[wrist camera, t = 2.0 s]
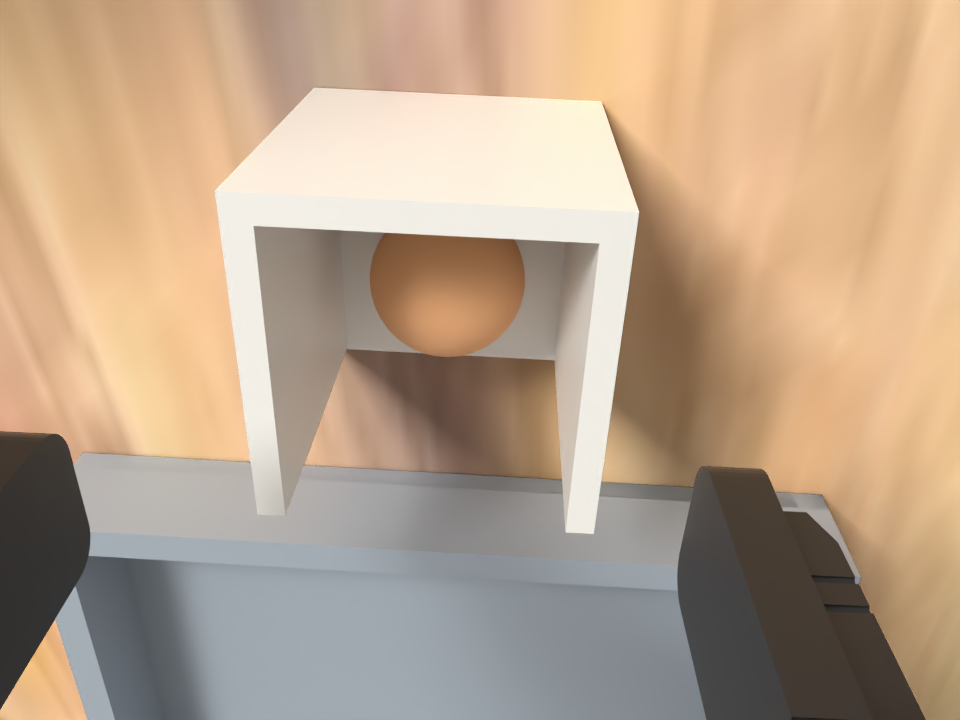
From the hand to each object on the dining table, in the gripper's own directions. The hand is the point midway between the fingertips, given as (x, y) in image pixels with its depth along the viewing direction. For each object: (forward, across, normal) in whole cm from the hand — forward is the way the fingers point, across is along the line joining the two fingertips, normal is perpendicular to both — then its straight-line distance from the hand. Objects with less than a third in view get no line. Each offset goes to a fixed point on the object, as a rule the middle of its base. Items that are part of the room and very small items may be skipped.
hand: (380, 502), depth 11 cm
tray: (+10, 0, +14) cm, 17 cm away
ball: (+7, 0, 0) cm, 7 cm away
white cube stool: (+9, 0, 0) cm, 9 cm away
